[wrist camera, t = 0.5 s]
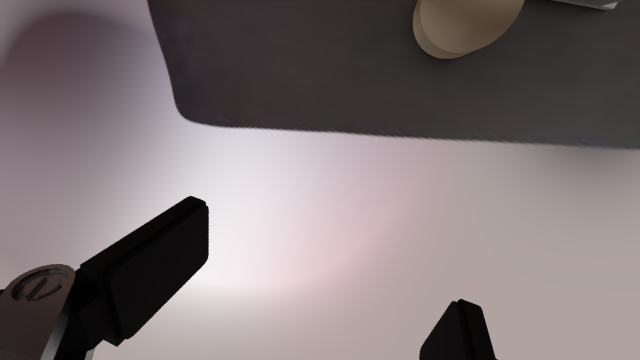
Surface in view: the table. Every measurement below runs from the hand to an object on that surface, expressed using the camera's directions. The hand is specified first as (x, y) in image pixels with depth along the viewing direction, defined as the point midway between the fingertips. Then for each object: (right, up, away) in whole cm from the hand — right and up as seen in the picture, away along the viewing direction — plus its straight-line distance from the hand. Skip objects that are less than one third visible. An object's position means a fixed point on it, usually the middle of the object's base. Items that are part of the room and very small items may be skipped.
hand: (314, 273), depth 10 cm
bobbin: (+14, +20, +18) cm, 30 cm away
